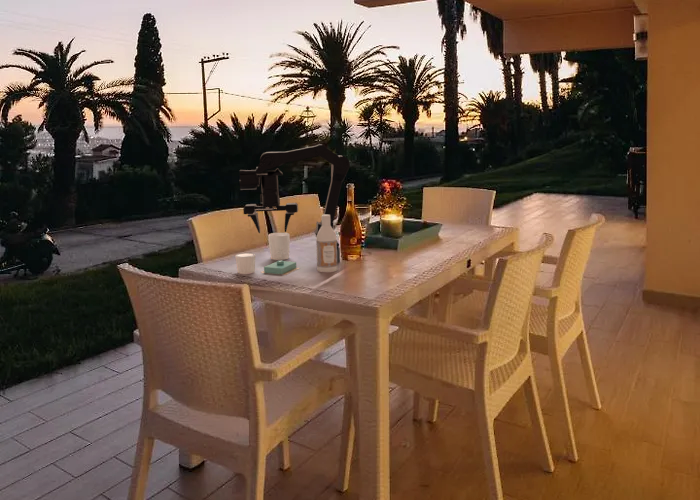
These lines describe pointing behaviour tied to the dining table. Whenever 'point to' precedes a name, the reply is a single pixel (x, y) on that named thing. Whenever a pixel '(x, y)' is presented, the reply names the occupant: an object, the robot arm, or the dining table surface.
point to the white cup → (279, 245)
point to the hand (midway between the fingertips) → (272, 232)
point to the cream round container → (245, 263)
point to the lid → (280, 267)
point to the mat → (286, 272)
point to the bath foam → (326, 247)
